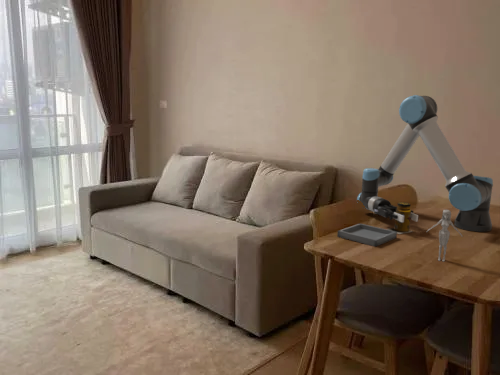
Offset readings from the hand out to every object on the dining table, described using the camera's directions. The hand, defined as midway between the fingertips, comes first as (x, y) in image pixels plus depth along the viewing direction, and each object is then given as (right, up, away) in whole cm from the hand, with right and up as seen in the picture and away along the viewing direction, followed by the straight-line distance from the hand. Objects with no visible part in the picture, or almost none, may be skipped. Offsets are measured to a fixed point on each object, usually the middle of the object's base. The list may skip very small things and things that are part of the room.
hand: (410, 218), depth 201 cm
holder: (-19, -7, -5) cm, 21 cm away
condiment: (-2, -6, +6) cm, 8 cm away
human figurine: (+2, -13, -29) cm, 32 cm away
